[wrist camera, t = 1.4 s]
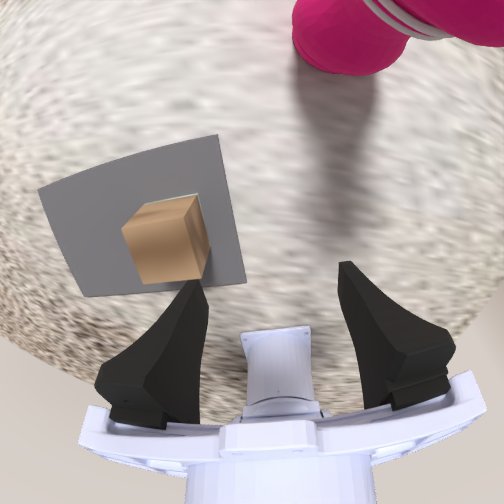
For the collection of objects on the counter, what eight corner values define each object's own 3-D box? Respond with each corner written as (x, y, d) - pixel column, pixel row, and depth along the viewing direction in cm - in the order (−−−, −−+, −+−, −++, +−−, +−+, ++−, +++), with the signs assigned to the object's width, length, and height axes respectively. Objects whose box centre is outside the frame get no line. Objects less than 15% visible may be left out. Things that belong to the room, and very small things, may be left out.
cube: (210, 245, 25) (201, 278, 20) (160, 252, 25) (143, 284, 21) (197, 193, 22) (183, 217, 18) (144, 203, 23) (121, 229, 18)
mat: (246, 280, 27) (246, 282, 27) (85, 295, 29) (84, 296, 29) (217, 134, 20) (217, 134, 20) (38, 189, 22) (37, 190, 22)
